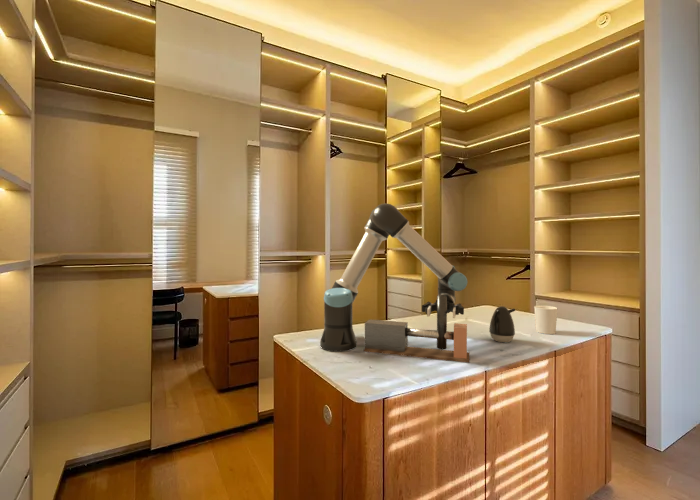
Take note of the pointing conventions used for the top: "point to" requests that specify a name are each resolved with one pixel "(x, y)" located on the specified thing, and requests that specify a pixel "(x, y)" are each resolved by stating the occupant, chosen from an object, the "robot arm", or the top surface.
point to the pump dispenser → (502, 325)
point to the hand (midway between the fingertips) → (440, 313)
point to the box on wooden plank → (386, 335)
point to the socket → (460, 340)
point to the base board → (424, 353)
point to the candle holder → (545, 319)
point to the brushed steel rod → (441, 331)
